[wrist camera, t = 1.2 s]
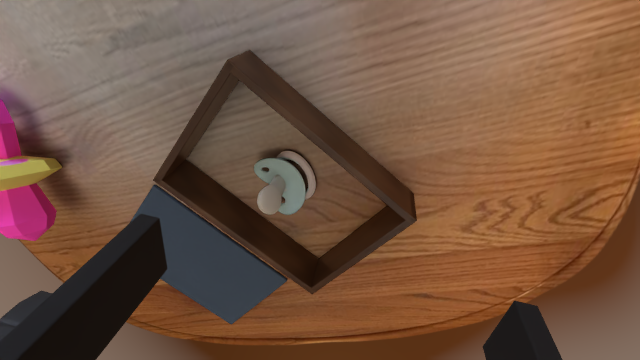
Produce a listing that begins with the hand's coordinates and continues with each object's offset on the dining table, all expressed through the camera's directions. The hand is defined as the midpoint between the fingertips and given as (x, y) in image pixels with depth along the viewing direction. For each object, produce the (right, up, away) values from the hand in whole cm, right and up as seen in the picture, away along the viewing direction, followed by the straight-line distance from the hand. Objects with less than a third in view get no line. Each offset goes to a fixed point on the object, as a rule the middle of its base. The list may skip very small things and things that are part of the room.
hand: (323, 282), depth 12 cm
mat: (-18, -8, +36) cm, 41 cm away
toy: (-37, +7, +31) cm, 49 cm away
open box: (-4, +4, +25) cm, 26 cm away
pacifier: (-3, +4, +26) cm, 26 cm away
